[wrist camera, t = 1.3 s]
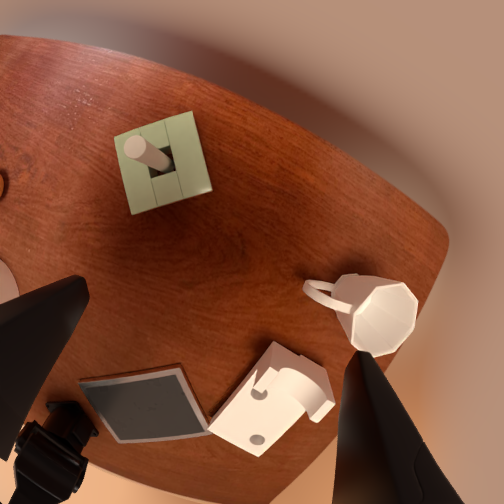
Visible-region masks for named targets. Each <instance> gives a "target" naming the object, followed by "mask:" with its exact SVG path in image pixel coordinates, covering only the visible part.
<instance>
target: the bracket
mask: <svg viewBox="0 0 504 504" xmlns="http://www.w3.org/2000/svg"><path fill="white" fill-rule="evenodd" d="M334 405H335V400H334V397H333V393H332V389H331V386H330V382H329V379H328V375H327V371H326V369H324V368H323V367H321V366H319V365H318V364H316V363H314V362H313V361H311V360H309V359H308V358H306V357H304V356H303V355H301V354H300V356H298V355H296V354H294V353H293V352H291V351H289V350H288V349H286V348H285V347H283V346H281V345H280V344H278V343H277V342H275V341H273V342H272V343H271V345H270V346H269V347H268V349H267V350H266V351H265V353H264V354H263V355H262V357H261V358H260V359H259V361H258V362H257V363H256V364H255V366H254V367H253V368H252V370H251V371H250V372H249V373H248V375H247V376H246V377H245V379H244V380H243V381H242V382H241V384H240V385H239V386H238V387H237V389H236V390H235V391H234V392H233V393H232V395H231V396H230V397H229V398H228V400H227V401H226V402H225V403H224V404H223V406H222V407H221V408H220V409H219V410H218V412H217V413H216V414H215V415H214V416H213V417H212V420H211V422H210V424H209V426H208V428H207V430H209V431H211V432H212V433H214V434H216V435H218V436H219V437H221V438H223V439H225V440H227V441H228V442H230V443H232V444H234V445H236V446H238V447H240V448H242V449H244V450H245V451H247V452H249V453H251V454H254V455H256V456H258V457H259V456H260V455H261V454H262V453H264V452H265V451H266V450H267V449H268V448H269V447H270V446H271V445H272V444H273V443H274V442H275V441H276V440H277V439H279V438H280V437H281V436H282V435H283V434H284V433H285V432H286V431H287V430H288V429H289V428H290V427H291V426H292V425H293V424H294V423H295V422H296V421H297V420H298V419H299V417H300V416H301V415H302V414H303V413H304V412H305V411H307V413H308V415H309V419H310V420H312V421H314V422H316V423H318V422H319V421H320V420H321V419H322V418H323V417H324V416H325V415H326V414H327V413H328V412H329V411H330V409H331V408H332V407H333V406H334Z"/></svg>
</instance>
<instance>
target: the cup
mask: <svg viewBox="0 0 504 504" xmlns="http://www.w3.org/2000/svg"><path fill="white" fill-rule="evenodd" d="M317 289H322V290H328V291H331V297H330V296H328V295H326V294H324V293H322V292H320V291H318V290H317ZM303 291H304V292H305V293H306V294H307V295H308V296H310V297H311V298H312V299H314V300H315V301H317V302H319V303H321V304H323V305H324V306H326V307H329V308H332V309H334V310H335V311H336V315H337V318H338V320H339V321H340V323H341V325H342V327H343V329H344V331H345V333H346V335H347V337H348V339H349V341H350V343H351V344H352V345H353V346H354V347H355V348H357V349H358V350H361V351H367V352H370V353H371V354H372V356H373V357H377V356H381V355H385V354H389V353H393V352H395V351H396V350H397V349H398V347H399V346H400V345H401V344H402V343H403V342H404V341H405V339H406V338H407V337H408V336H409V335H410V333H411V332H412V331H413V330H414V327H415V321H416V314H417V307H418V300H417V299H416V298H415V296H414V295H413V294H412V292H411V291H410V290H409V289H408V287H407V286H406V285H405V284H404V283H403V282H399V281H394V280H389V279H385V278H381V277H377V276H365V275H361V276H359V275H358V274H357V273H355V274H346V275H342V276H341V277H340V278H339V279H338V280H337V281H336V283H335V284H332V283H328V282H324V281H317V280H305V283H304V285H303Z"/></svg>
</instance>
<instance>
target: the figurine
mask: <svg viewBox="0 0 504 504" xmlns="http://www.w3.org/2000/svg"><path fill="white" fill-rule="evenodd" d="M3 188H4V182H3V178H2V176H1V174H0V197H1V195H2V192H3Z"/></svg>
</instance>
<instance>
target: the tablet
mask: <svg viewBox="0 0 504 504" xmlns="http://www.w3.org/2000/svg"><path fill="white" fill-rule="evenodd" d="M78 384H79V386H80V388H81V389H82V391H83V393H84V394H85V396H86V397H87V399H88V401H89V402H90V404H91V405H92V407H93V408H94V410H95V411H96V413H97V414H98V416H99V417H100V419H101V420H102V422H103V423H104V424H105V426H106V427H107V429H108V430H109V431H110V433H111V434H112V435H113V437H114V438H115V439H116V441H117V442H118V443H141V442H155V441H166V440H176V439H184V438H191V437H198V436H205V435H211V434H213V433H212V432H211V431H209V430H207V428H208V426H209V424H210V423H209V421H208V419H207V417H206V415H205V414H204V412H203V410H202V408H201V406H200V404H199V402H198V400H197V398H196V395H195V393H194V391H193V389H192V387H191V385H190V383H189V381H188V379H187V376H186V374H185V372H184V370H183V368H182V365H181V363H180V364H175V365H170V366H165V367H160V368H154V369H149V370H143V371H137V372H131V373H125V374H118V375H111V376H104V377H96V378H88V379H80V381H79V382H78Z"/></svg>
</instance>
